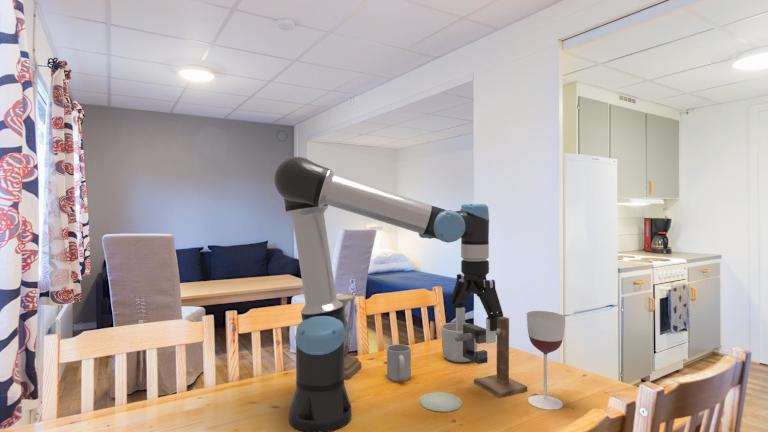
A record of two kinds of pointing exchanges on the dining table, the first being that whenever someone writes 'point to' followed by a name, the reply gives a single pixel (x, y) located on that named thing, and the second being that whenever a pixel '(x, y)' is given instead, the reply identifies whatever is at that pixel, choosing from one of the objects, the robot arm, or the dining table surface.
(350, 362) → the candle holder
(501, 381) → the stand
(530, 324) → the wineglass
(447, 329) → the planter
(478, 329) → the link
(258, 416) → the dining table surface
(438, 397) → the coaster
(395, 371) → the cup
